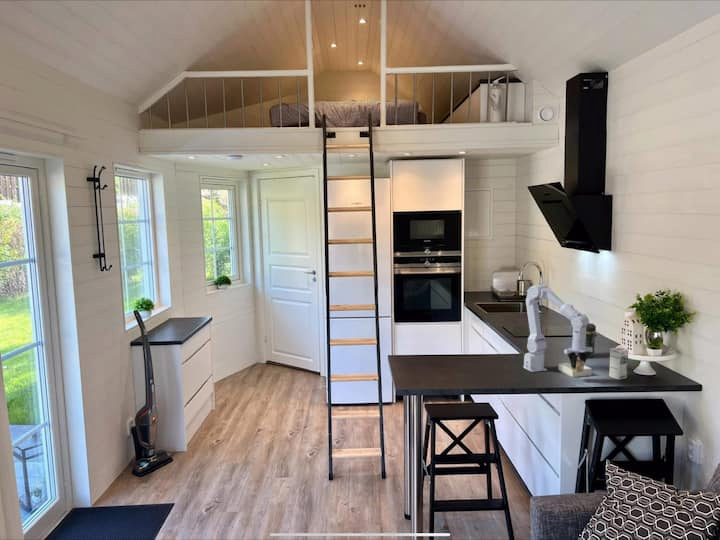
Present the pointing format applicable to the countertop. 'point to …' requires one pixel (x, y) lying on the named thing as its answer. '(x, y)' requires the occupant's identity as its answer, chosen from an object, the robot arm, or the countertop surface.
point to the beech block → (578, 366)
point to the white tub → (567, 370)
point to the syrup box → (618, 363)
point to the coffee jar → (590, 338)
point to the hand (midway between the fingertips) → (577, 367)
